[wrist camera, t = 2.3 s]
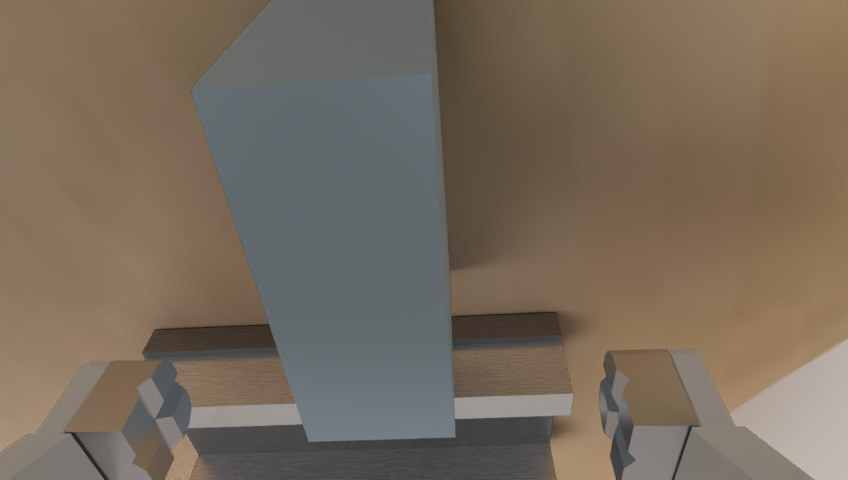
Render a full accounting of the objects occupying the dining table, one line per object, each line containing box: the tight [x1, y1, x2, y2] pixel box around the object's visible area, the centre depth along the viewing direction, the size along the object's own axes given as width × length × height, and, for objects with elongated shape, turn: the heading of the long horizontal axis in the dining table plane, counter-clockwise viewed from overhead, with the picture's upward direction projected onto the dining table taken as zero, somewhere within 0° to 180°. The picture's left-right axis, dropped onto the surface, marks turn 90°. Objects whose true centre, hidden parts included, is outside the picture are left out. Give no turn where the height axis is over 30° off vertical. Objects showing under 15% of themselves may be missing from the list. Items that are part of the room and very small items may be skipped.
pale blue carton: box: [190, 0, 456, 442], centre depth 15 cm, size 4×10×7 cm, turn 4°
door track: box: [142, 312, 574, 480], centre depth 23 cm, size 16×8×4 cm, turn 94°
